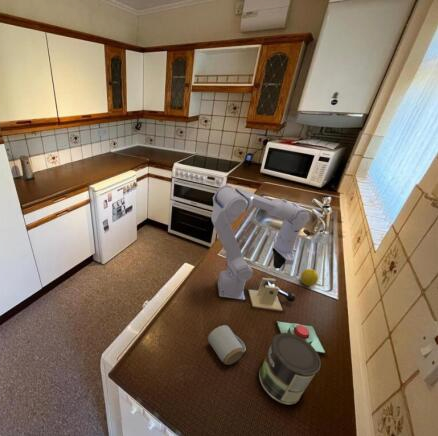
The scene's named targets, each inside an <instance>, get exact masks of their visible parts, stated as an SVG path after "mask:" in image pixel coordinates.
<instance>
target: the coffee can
mask: <svg viewBox="0 0 438 436" xmlns="http://www.w3.org/2000/svg"><path fill="white" fill-rule="evenodd" d="M321 365H322V363H321V358H320V355H319V353H317V352H316V350H315V349H314V348H313V347H312V346H311V345H310V344H309V343H308V342H307V341H305V340H304V339H303V338H301V337H299V336H297V335H294V334H290V333H280V332H279V333H278V334H275V336H274V337H273V339H272V340H271V345H270V347H269V349H268V351H267V354H266V356H265V359H264V361H263V363H262V365H261V367H260V369H259V371H258V372H259V373H258V376H259V381H260V384H261V386H262V388H263V390H264V391H265V392H266V394H268V396H269V397H271V398H272V399H273V400H275V401H276V402H278V403H280V404H284V405H295V404H296V403H297V402H299V401H300V399H301V397H302V395H303V394H304V392H305V391H306V389H307V388H308V386H309V384H310V383H311V381H312V380H313V379H314V378H315V375H316V374H317V373H318V372H319V371H320V368H321Z"/></svg>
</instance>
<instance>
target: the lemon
mask: <svg viewBox="0 0 438 436" xmlns="http://www.w3.org/2000/svg"><path fill="white" fill-rule="evenodd" d="M300 281H301V282H302V284H303V285H305V286H307V287H312V286H315V285H316V284H317V283H318V281H319V274H318V272H317V271H316V270H315V269H312V268H307V269H305V270H304V271H303V272H302V273H301V275H300Z"/></svg>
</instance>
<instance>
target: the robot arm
mask: <svg viewBox="0 0 438 436" xmlns="http://www.w3.org/2000/svg"><path fill="white" fill-rule="evenodd" d="M212 203H213V205H212V210H211V211H212V212H211V218H210V219H211V223H212V225H213V228H214V229H215V231H216V235H217V236H218V239H219V242H220V243H221V246H222V247H223V248H222V249H223V250H224V252H225V254H224V255H225V264H226V265H227V267H226V268H227V269H224V270H220V272H219V276H218V280H217V289H218V296H219V297H221V298H229V299H235V300H236V299H238V300H243V301H245V300H246V296H245V292H244V289H245V286H246V282H248V281H249V280H250V279H251V278H252V277H253V275H254V270H253V268H252V267H251V266H250V265H249V264H248V263H247V261H246V259H245V258H244V255H243V253H242V250H241V249H240V246H239V243H238V240H237V238H236V236H235V233H234V229H233V227H232V225H231V224H232V223H234V222H235V221H236V220H237V219H238V218H239V217H240V216H242V215H243V213H244V212H249V211H250V209H251V207H253V208H256V209H260V210H264V211H266V212H267V214H268V215H269V216H271V217H273V218H276V219H280V220H282V224H281V226H280V229H279V233H278V236H274V238H273V242H274V245H273V248H272V255H273V264H272V265H273V268H274V269H280V270H281V268H282V267H283V266H284V264H285V265H289V266H290V265H291V266H292V265H293V263H294V261H295V260H294V253H295V252H297V249H296V247H295V246H296V243H297V240H298V238H299V235H300V232H301V231H302V230H303V229H304V226H305V225H306V224H308V222H309V221H310V220H311V217H310V213H309V211H308V210H306V209H305V208H304V207H301V206H300V205H299V204H297V203H295V202H294V201H293V202H288V200H287V199H285V198H283V197H281V198H274V199H272V200H270V199H268V198H265V197H263V196H261V195H258V194H256V193H253V192H250V191H247V190H245V189H242V188H239V187H235V186H234V187H232V186H231V185H226V184H225V185H222V186H220V187H219V188H218V189H217V190H216V192H215V194H214V195H213V196H212Z"/></svg>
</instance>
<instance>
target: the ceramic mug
mask: <svg viewBox="0 0 438 436" xmlns="http://www.w3.org/2000/svg"><path fill="white" fill-rule="evenodd" d="M207 342H208V343H209V345H210V346H211V348H213V351H214V352H215V353H216V355H217V357H218V359H219V360H220V361H221V362H222V363H223V364H224V365H227V366H229V365H230V366H231V365H232V364H234V363H236V362H238V361H239V360H240V359H241V358H242V357H243V356H244V354H245V352H246V350H247V347H246V345H245V343H244V341H243V340H242V339H241V338H240V337H238V336H237V335H235V334H234V332H233V331H232V329H231V327H230V326H228V325H226V324H224V325H219V326H218V327H216V328H214V329H213V330H212V331H211V332H210V333H209V335H208V336H207Z"/></svg>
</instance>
